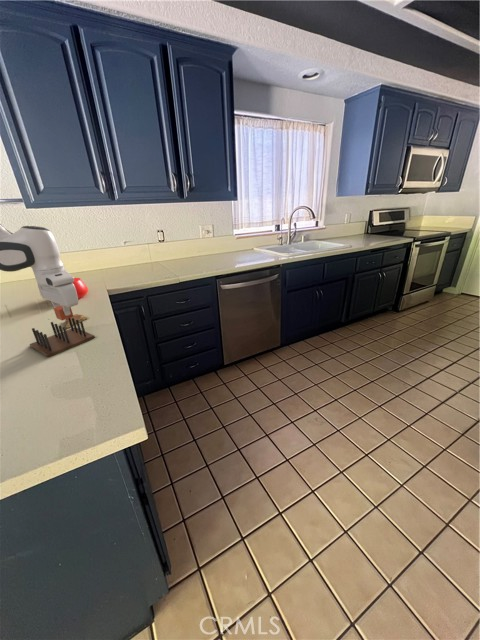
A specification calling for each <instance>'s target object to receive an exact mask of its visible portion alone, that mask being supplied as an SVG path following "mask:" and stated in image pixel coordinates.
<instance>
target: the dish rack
mask: <svg viewBox="0 0 480 640" xmlns="http://www.w3.org/2000/svg"><path fill="white" fill-rule="evenodd" d="M68 320H69V323H70V326H71V327H70V329H69V328H68V329H67V328H66V327H65V326H64V327H62V325H58V324H57V323H54V321H51V322H50V325H51V328H52V331H53V335H51V336H48V335H47V333H44V332H42V331H39V330H38V329H36V328H35V327H33V328H31V331H32V333H33V336H34V339H35V341H34V342H31V343H29V346H30V347H31V348H32V349H34V350H35V351H37V352H39V353H40V354H42V355H44V356H45V357H47V358H51V357H52V356H55V355H58V354H60V353H62V352H64V351H67V350H70V349H71V348H74V347H76V346H80V344H83V343H86V342H88V341H91V340H93V339H95V335H94V334H91V333H90V332H87V331H86V329H85V326H84V323H83V321H80V322H79V321H78V320H76V323H77V324H76V323H75V320H74V318H72V322H73V325H72V322H71V318H68Z"/></svg>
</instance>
